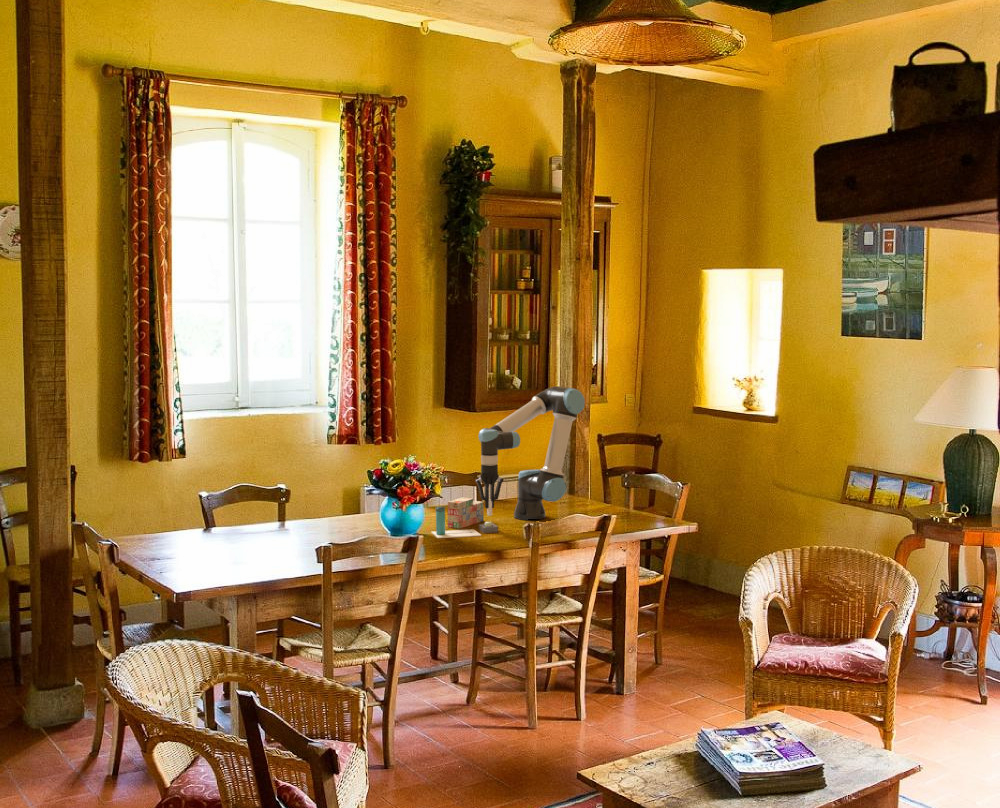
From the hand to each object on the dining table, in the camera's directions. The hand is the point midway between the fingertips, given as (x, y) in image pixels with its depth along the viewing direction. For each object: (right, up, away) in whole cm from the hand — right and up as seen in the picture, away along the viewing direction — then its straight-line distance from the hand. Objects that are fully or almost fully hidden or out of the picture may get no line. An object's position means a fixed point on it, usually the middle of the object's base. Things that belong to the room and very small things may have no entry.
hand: (489, 515), depth 503 cm
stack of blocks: (-11, -6, +15) cm, 19 cm away
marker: (-22, -7, -9) cm, 25 cm away
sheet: (-15, -8, -7) cm, 18 cm away
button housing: (-1, -7, 0) cm, 7 cm away
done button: (-1, -7, 0) cm, 7 cm away
